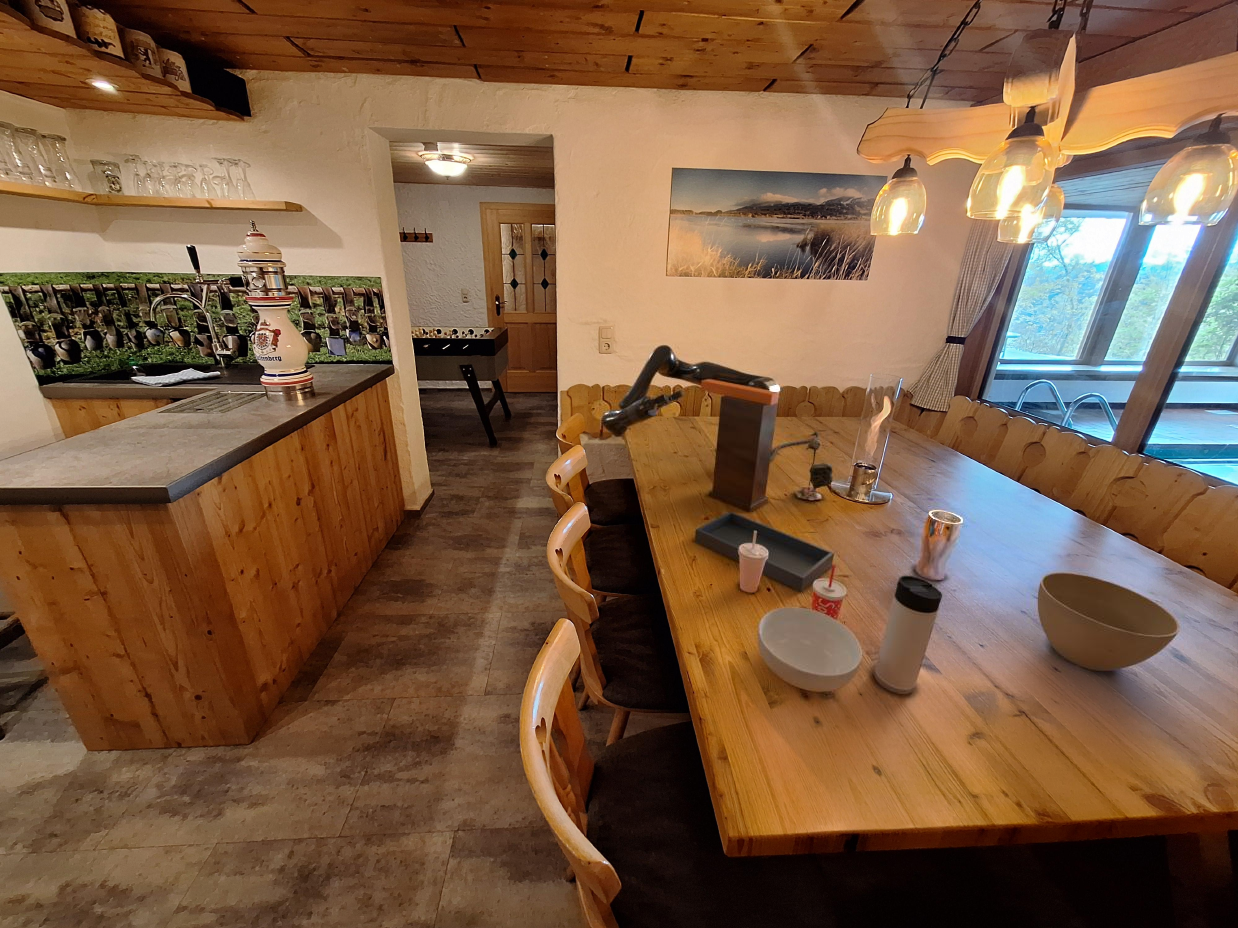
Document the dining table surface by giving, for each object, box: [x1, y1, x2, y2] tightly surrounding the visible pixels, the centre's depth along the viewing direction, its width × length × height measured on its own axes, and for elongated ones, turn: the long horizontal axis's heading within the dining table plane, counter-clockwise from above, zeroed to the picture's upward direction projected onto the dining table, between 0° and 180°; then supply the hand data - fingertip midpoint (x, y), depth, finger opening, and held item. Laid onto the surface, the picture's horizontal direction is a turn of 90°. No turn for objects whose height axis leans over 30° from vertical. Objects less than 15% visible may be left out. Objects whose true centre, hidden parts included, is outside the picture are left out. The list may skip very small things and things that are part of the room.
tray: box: [694, 510, 835, 593], centre depth 122 cm, size 16×30×4 cm, turn 44°
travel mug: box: [873, 575, 943, 695], centre depth 81 cm, size 6×7×20 cm
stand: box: [708, 395, 779, 513], centre depth 147 cm, size 10×15×32 cm, turn 44°
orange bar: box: [700, 379, 780, 405], centre depth 143 cm, size 4×24×3 cm, turn 44°
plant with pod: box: [794, 437, 834, 501], centre depth 151 cm, size 8×11×20 cm
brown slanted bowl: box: [1037, 572, 1181, 672], centre depth 89 cm, size 18×18×12 cm
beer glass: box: [914, 509, 964, 581], centre depth 113 cm, size 7×7×15 cm
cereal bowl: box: [756, 606, 863, 693], centre depth 86 cm, size 17×17×7 cm
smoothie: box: [738, 531, 768, 593], centre depth 107 cm, size 6×6×14 cm
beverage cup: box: [810, 564, 848, 621], centre depth 95 cm, size 6×6×14 cm
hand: (673, 395), depth 162 cm, fingers open, 8 cm apart
